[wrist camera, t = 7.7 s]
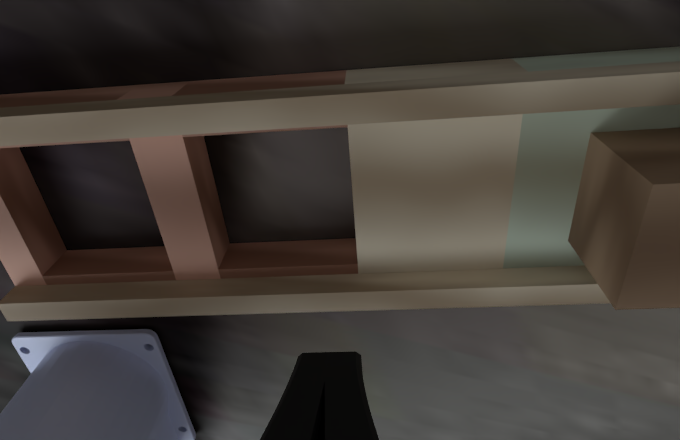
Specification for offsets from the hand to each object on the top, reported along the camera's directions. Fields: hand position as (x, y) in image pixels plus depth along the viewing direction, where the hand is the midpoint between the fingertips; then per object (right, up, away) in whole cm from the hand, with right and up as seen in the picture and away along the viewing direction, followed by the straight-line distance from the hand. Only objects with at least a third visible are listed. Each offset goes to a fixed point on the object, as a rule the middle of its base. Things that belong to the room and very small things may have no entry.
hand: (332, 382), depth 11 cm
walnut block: (+11, +5, +6) cm, 14 cm away
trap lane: (+1, +5, +9) cm, 10 cm away
